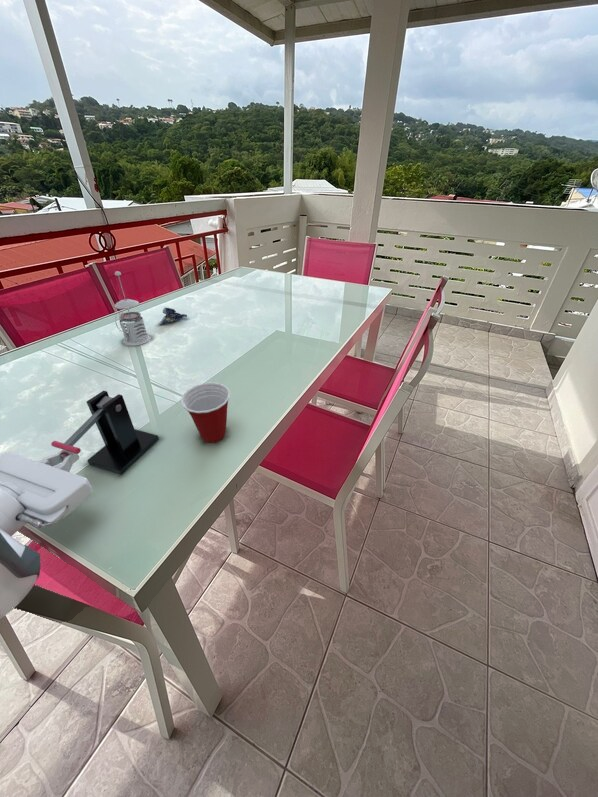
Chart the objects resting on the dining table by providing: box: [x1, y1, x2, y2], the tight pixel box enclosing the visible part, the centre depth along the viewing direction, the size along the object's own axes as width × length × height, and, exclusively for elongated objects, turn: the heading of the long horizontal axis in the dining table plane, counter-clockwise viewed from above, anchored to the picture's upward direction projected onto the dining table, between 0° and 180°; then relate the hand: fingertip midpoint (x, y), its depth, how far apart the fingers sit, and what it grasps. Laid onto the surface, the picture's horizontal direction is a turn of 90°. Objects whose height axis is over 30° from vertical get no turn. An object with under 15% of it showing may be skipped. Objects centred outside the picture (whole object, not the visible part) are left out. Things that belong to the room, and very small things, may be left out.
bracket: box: [86, 390, 159, 475], centre depth 71 cm, size 12×9×15 cm
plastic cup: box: [180, 381, 231, 443], centre depth 77 cm, size 11×11×12 cm
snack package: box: [157, 307, 188, 326], centre depth 140 cm, size 12×6×12 cm
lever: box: [50, 396, 113, 455], centre depth 65 cm, size 13×6×2 cm, turn 161°
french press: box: [113, 270, 152, 347], centre depth 117 cm, size 10×12×25 cm
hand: (72, 453), depth 63 cm, fingers closed
